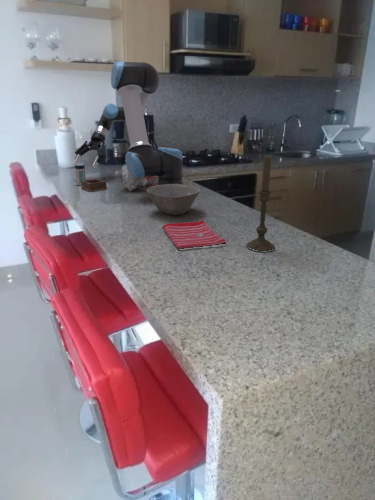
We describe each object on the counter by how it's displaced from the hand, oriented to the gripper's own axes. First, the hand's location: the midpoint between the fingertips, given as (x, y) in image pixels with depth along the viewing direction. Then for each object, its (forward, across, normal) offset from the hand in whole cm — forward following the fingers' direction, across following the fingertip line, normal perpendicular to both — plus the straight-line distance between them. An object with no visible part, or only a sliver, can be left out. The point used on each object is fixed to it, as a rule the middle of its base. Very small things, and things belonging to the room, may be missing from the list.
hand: (84, 166), depth 216 cm
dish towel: (+45, -93, +31) cm, 108 cm away
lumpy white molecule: (+3, -33, -11) cm, 35 cm away
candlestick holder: (+44, -117, +31) cm, 129 cm away
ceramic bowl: (+28, -73, +14) cm, 79 cm away
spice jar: (+10, -1, -4) cm, 11 cm away
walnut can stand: (+14, -14, 0) cm, 20 cm away
